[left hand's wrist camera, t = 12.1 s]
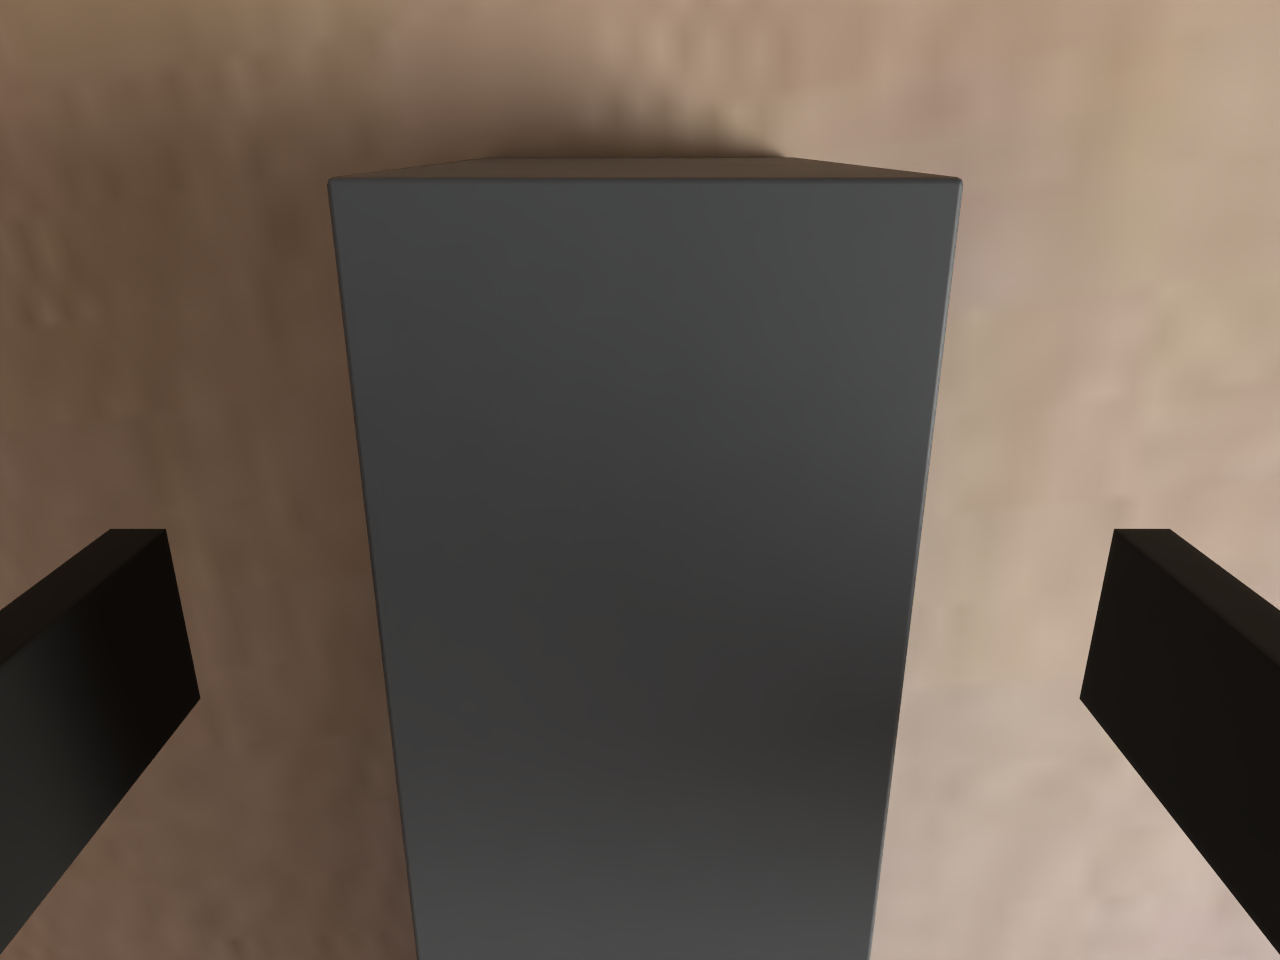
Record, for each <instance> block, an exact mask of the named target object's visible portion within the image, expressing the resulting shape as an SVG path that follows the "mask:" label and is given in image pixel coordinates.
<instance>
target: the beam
mask: <svg viewBox="0 0 1280 960" xmlns="http://www.w3.org/2000/svg"><path fill="white" fill-rule="evenodd" d="M327 188H328V196H329V205H330V213H331V222H332V231H333V239H334V248H335V256H336V265H337V274H338V282H339V291H340V299H341V308H342V317H343V325H344V334H345V342H346V351H347V360H348V368H349V377H350V385H351V394H352V403H353V411H354V420H355V428H356V437H357V446H358V454H359V463H360V471H361V480H362V489H363V497H364V506H365V514H366V523H367V532H368V540H369V549H370V557H371V566H372V575H373V583H374V592H375V600H376V609H377V618H378V626H379V635H380V643H381V652H382V661H383V669H384V678H385V686H386V695H387V704H388V712H389V721H390V729H391V738H392V747H393V755H394V764H395V772H396V781H397V790H398V798H399V807H400V815H401V824H402V833H403V841H404V850H405V858H406V867H407V876H408V884H409V893H410V901H411V910H412V919H413V927H414V936H415V944H416V953H417V960H870V954H871V945H872V937H873V929H874V921H875V912H876V904H877V896H878V887H879V879H880V871H881V862H882V854H883V846H884V837H885V829H886V821H887V813H888V804H889V796H890V788H891V779H892V771H893V763H894V754H895V746H896V738H897V729H898V721H899V713H900V705H901V696H902V688H903V680H904V671H905V663H906V655H907V646H908V638H909V630H910V621H911V613H912V605H913V597H914V588H915V580H916V572H917V563H918V555H919V547H920V538H921V530H922V522H923V514H924V505H925V497H926V489H927V480H928V472H929V464H930V455H931V447H932V439H933V430H934V422H935V414H936V406H937V397H938V389H939V381H940V372H941V364H942V356H943V347H944V339H945V331H946V322H947V314H948V306H949V298H950V289H951V281H952V273H953V264H954V256H955V248H956V239H957V231H958V223H959V214H960V206H961V198H962V190H963V183H962V179H960V178H957V177H951V176H943V175H934V174H926V173H918V172H909V171H901V170H893V169H884V168H876V167H868V166H859V165H851V164H843V163H834V162H826V161H818V160H809V159H801V158H481V159H473V160H465V161H457V162H449V163H441V164H434V165H426V166H418V167H410V168H402V169H394V170H386V171H378V172H371V173H363V174H355V175H347V176H339V177H333V178H331V179H329V180H328V184H327Z"/></svg>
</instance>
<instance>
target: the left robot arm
mask: <svg viewBox="0 0 1280 960" xmlns="http://www.w3.org/2000/svg"><path fill="white" fill-rule="evenodd" d="M199 700H200V694H199V689H198V684H197V680H196V675H195V670H194V665H193V660H192V655H191V650H190V645H189V640H188V635H187V630H186V626H185V621H184V616H183V611H182V606H181V601H180V596H179V591H178V586H177V581H176V577H175V572H174V567H173V562H172V557H171V552H170V547H169V542H168V537H167V532H166V529H110V530H108V531H107V532H106V533H104V534H103V535H101V536H100V537H99V538H97V539H96V540H95V541H93V542H92V543H91V544H89V545H88V546H87V547H85V548H84V549H83V550H81V551H80V552H79V553H77V554H76V555H74V556H73V557H72V558H70V559H69V560H68V561H66V562H65V563H64V564H62V565H61V566H60V567H58V568H57V569H56V570H54V571H53V572H52V573H50V574H49V575H48V576H46V577H45V578H43V579H42V580H41V581H39V582H38V583H37V584H35V585H34V586H33V587H31V588H30V589H29V590H27V591H26V592H25V593H23V594H22V595H21V596H19V597H18V598H17V599H15V600H14V601H12V602H11V603H10V604H8V605H7V606H6V607H4V608H3V609H2V610H0V954H1V953H2V952H3V950H4V949H5V948H6V947H7V945H8V944H9V943H10V941H11V940H12V939H13V938H14V936H15V935H16V934H17V932H18V931H19V930H20V929H21V927H22V926H23V925H24V924H25V922H26V921H27V920H28V918H29V917H30V916H31V915H32V913H33V912H34V911H35V909H36V908H37V907H38V906H39V904H40V903H41V902H42V900H43V899H44V898H45V897H46V895H47V894H48V893H49V892H50V890H51V889H52V888H53V886H54V885H55V884H56V883H57V881H58V880H59V879H60V877H61V876H62V875H63V874H64V872H65V871H66V870H67V869H68V867H69V866H70V865H71V863H72V862H73V861H74V860H75V858H76V857H77V856H78V854H79V853H80V852H81V851H82V849H83V848H84V847H85V845H86V844H87V843H88V842H89V840H90V839H91V838H92V837H93V835H94V834H95V833H96V831H97V830H98V829H99V828H100V826H101V825H102V824H103V822H104V821H105V820H106V819H107V817H108V816H109V815H110V814H111V812H112V811H113V810H114V808H115V807H116V806H117V805H118V803H119V802H120V801H121V799H122V798H123V797H124V796H125V794H126V793H127V792H128V790H129V789H130V788H131V787H132V785H133V784H134V783H135V782H136V780H137V779H138V778H139V776H140V775H141V774H142V773H143V771H144V770H145V769H146V767H147V766H148V765H149V764H150V762H151V761H152V760H153V759H154V757H155V756H156V755H157V753H158V752H159V751H160V750H161V748H162V747H163V746H164V744H165V743H166V742H167V741H168V739H169V738H170V737H171V735H172V734H173V733H174V732H175V730H176V729H177V728H178V727H179V725H180V724H181V723H182V721H183V720H184V719H185V718H186V716H187V715H188V714H189V712H190V711H191V710H192V709H193V707H194V706H195V705H196V703H197V702H198V701H199ZM1080 700H1081V701H1082V702H1083V703H1084V705H1085V706H1086V707H1087V709H1088V710H1089V711H1090V712H1091V714H1092V715H1093V716H1094V718H1095V719H1096V720H1097V721H1098V723H1099V724H1100V725H1101V727H1102V728H1103V729H1104V730H1105V732H1106V733H1107V734H1108V735H1109V737H1110V738H1111V739H1112V741H1113V742H1114V743H1115V744H1116V746H1117V747H1118V748H1119V750H1120V751H1121V752H1122V753H1123V755H1124V756H1125V757H1126V758H1127V760H1128V761H1129V762H1130V764H1131V765H1132V766H1133V767H1134V769H1135V770H1136V771H1137V773H1138V774H1139V775H1140V776H1141V778H1142V779H1143V780H1144V782H1145V783H1146V784H1147V785H1148V787H1149V788H1150V789H1151V790H1152V792H1153V793H1154V794H1155V796H1156V797H1157V798H1158V799H1159V801H1160V802H1161V803H1162V805H1163V806H1164V807H1165V808H1166V810H1167V811H1168V812H1169V814H1170V815H1171V816H1172V817H1173V819H1174V820H1175V821H1176V822H1177V824H1178V825H1179V826H1180V828H1181V829H1182V830H1183V831H1184V833H1185V834H1186V835H1187V837H1188V838H1189V839H1190V840H1191V842H1192V843H1193V844H1194V845H1195V847H1196V848H1197V849H1198V851H1199V852H1200V853H1201V854H1202V856H1203V857H1204V858H1205V860H1206V861H1207V862H1208V863H1209V865H1210V866H1211V867H1212V869H1213V870H1214V871H1215V872H1216V874H1217V875H1218V876H1219V877H1220V879H1221V880H1222V881H1223V883H1224V884H1225V885H1226V886H1227V888H1228V889H1229V890H1230V892H1231V893H1232V894H1233V895H1234V897H1235V898H1236V899H1237V900H1238V902H1239V903H1240V904H1241V906H1242V907H1243V908H1244V909H1245V911H1246V912H1247V913H1248V915H1249V916H1250V917H1251V918H1252V920H1253V921H1254V922H1255V924H1256V925H1257V926H1258V927H1259V929H1260V930H1261V931H1262V932H1263V934H1264V935H1265V936H1266V938H1267V939H1268V940H1269V941H1270V943H1271V944H1272V945H1273V947H1274V948H1275V949H1276V950H1277V952H1278V953H1279V954H1280V610H1278V609H1277V608H1276V607H1274V606H1273V605H1272V604H1270V603H1269V602H1268V601H1266V600H1265V599H1263V598H1262V597H1261V596H1259V595H1258V594H1257V593H1255V592H1254V591H1253V590H1251V589H1250V588H1249V587H1247V586H1246V585H1245V584H1243V583H1242V582H1241V581H1239V580H1238V579H1237V578H1235V577H1234V576H1232V575H1231V574H1230V573H1228V572H1227V571H1226V570H1224V569H1223V568H1222V567H1220V566H1219V565H1218V564H1216V563H1215V562H1214V561H1212V560H1211V559H1210V558H1208V557H1207V556H1206V555H1204V554H1203V553H1201V552H1200V551H1199V550H1197V549H1196V548H1195V547H1193V546H1192V545H1191V544H1189V543H1188V542H1187V541H1185V540H1184V539H1183V538H1181V537H1180V536H1179V535H1177V534H1176V533H1174V532H1173V531H1172V530H1170V529H1114V532H1113V537H1112V542H1111V547H1110V552H1109V557H1108V562H1107V567H1106V572H1105V577H1104V581H1103V586H1102V591H1101V596H1100V601H1099V606H1098V611H1097V616H1096V621H1095V626H1094V631H1093V635H1092V640H1091V645H1090V650H1089V655H1088V660H1087V665H1086V670H1085V675H1084V680H1083V684H1082V689H1081V694H1080Z"/></svg>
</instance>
